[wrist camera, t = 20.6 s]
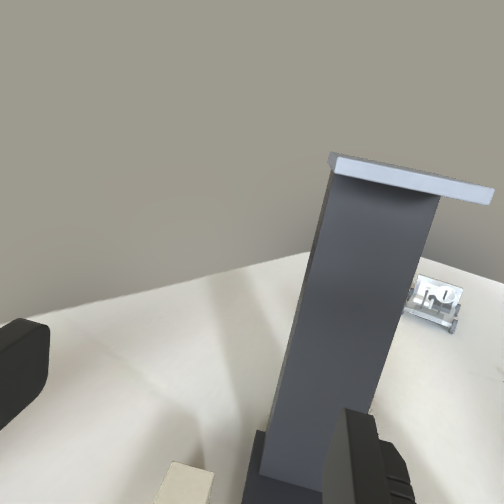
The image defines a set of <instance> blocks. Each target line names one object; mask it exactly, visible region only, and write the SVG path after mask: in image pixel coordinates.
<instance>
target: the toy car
mask: <svg viewBox="0 0 504 504" xmlns="http://www.w3.org/2000/svg"><path fill="white" fill-rule="evenodd" d="M462 290H463V288H461V287H458V286H455V285H452V284H449V283H446V282H443V281H440V280H437V279H434V278H430V277H427V276H424V275H421V274H419V277H418V280H417V283H416V286H415V289H413V288H411V290H410V292H409V295H408V298H407V299H408V300H409V301H408V302H407V304H406V302H405V304H404V307H403V310H402V313H401V315H402V314H403V312H404V311H406V312H408V313H411V314H414V315H417V316H419V317H422V318H425V319H428V320H430V321H433V322H436V323H438V324H441V325H444V326H447V327H449V328H450V330H449V333H452V334H453V333H454V331H455V328H456V325H457V322H458V321H457V320H455V319H454V320H453V318H454V316H457V314H458V312H459V309H460V306H461V305H460V304H457V303H458V301H459V298H460V295H461V293H462Z"/></svg>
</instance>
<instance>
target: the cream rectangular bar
mask: <svg viewBox="0 0 504 504" xmlns="http://www.w3.org/2000/svg"><path fill="white" fill-rule="evenodd" d="M214 475H215V473H213V472H209V471H206V470H202V469H199V468H195V467H192V466H189V465H185V464H182V463H178V462H175V461H172V463H171V465H170V467H169V469H168V472H167V474H166V476H165V478H164V480H163V483H162V485H161V487H160V489H159V491H158V494H157V496H156V498H155V500H154V502H153V504H208V503H209V499H210V494H211V489H212V485H213V480H214Z"/></svg>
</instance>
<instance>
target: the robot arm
mask: <svg viewBox="0 0 504 504" xmlns="http://www.w3.org/2000/svg"><path fill="white" fill-rule="evenodd" d="M49 348H50V329H49V327H48V326H47V325H44V324H40V323H37V322H33V321H29V320H26V319H22V318H18V319H15V320H13V321H12V322H10V323H8V324H7V325H5V326H3V327H2V328H0V431H1V430H2V429H3V428H4V427H5V426H6V425H7V424H8V423H9V422H10V421H11V420H13V419H14V418H15V417H16V416H17V415H18V414H19V413H20V412H21V411H22V410H23V409H25V408H26V407H27V406H28V405H29V404H30V403H31V402H32V401H33V400H34V399H35V398H36V397H37V396H38V395H39V394H40V392H41V391H42V389H43V387H44V385H45V383H46V380H47V377H48V365H49ZM322 498H323V504H417V503H415V496H414V492H413V489H412V486H411V485H410V478H409V474H408V471H407V467H406V463H405V461H404V460H403V458H402V457H401V455H400V454H399V452H398V451H397V450H396V448H395V447H394V445H393V444H392V443H390V442H387V441H383V440H379V438H378V433H377V428H376V423H375V419H374V416H373V415H369V414H365V413H362V412H358V411H354V410H351V409H347V408H342V410H341V412H340V415H339V418H338V421H337V424H336V427H335V430H334V433H333V436H332V439H331V442H330V445H329V449H328V452H327V455H326V459H325V463H324V469H323V478H322Z"/></svg>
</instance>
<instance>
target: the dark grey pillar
mask: <svg viewBox="0 0 504 504" xmlns="http://www.w3.org/2000/svg"><path fill="white" fill-rule="evenodd" d="M328 164H329V166H330V167H331V173H330V177H329V181H328V185H327V189H326V193H325V197H324V201H323V204H322V209H321V213H320V216H319V221H318V225H317V229H316V232H315V237H314V240H313V244H312V249H311V252H310V256H309V260H308V264H307V268H306V272H305V276H304V280H303V284H302V288H301V292H300V296H299V300H298V304H297V308H296V312H295V316H294V320H293V324H292V328H291V332H290V336H289V340H288V344H287V348H286V352H285V356H284V360H283V364H282V368H281V372H280V376H279V380H278V384H277V388H276V392H275V396H274V400H273V404H272V408H271V412H270V416H269V420H268V424H267V428H266V432H263V431H260V430H257V431H256V435H255V439H254V444H253V449H252V454H251V459H250V463H249V468H248V473H247V478H246V483H245V488H244V493H243V498H242V502H241V504H323V498H322V478H323V469H324V463H325V459H326V455H327V452H328V449H329V445H330V442H331V439H332V436H333V433H334V430H335V427H336V424H337V421H338V418H339V415H340V412H341V410H342V408H347V409H351V410H354V411H358V412H362V413H365V414H368V411H369V408H370V405H371V402H372V399H373V396H374V394H375V391H376V388H377V385H378V382H379V379H380V376H381V373H382V370H383V367H384V364H385V361H386V358H387V355H388V352H389V349H390V346H391V343H392V340H393V337H394V334H395V331H396V328H397V325H398V322H399V319H400V316H401V313H402V310H403V307H404V304H405V301H406V298H407V295H408V292H409V289H410V286H411V283H412V280H413V277H414V274H415V272H416V269H417V266H418V263H419V260H420V257H421V254H422V251H423V248H424V245H425V242H426V239H427V236H428V233H429V230H430V227H431V223H432V221H433V218H434V215H435V212H436V209H437V206H438V203H439V200H440V197H441V196H444V197H449V198H453V199H458V200H463V201H468V202H473V203H477V204H482V205H486V206H488V205H489V204H490V201H491V199H492V196H493V193H494V190H495V189H494V188H490V187H486V186H482V185H478V184H474V183H470V182H466V181H462V180H458V179H455V178H450V177H447V176H442V175H439V174H435V173H431V172H426V171H421V170H416V169H411V168H407V167H402V166H397V165H392V164H387V163H382V162H377V161H373V160H368V159H363V158H359V157H354V156H348V155H344V154H339V153H334V152H330V154H329V157H328Z"/></svg>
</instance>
